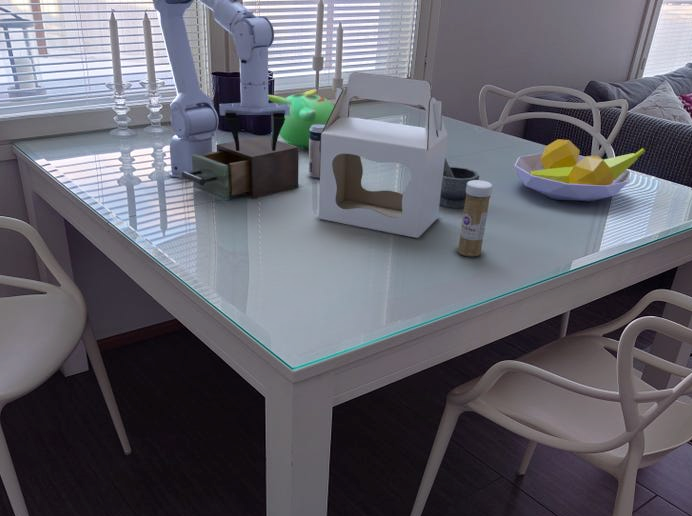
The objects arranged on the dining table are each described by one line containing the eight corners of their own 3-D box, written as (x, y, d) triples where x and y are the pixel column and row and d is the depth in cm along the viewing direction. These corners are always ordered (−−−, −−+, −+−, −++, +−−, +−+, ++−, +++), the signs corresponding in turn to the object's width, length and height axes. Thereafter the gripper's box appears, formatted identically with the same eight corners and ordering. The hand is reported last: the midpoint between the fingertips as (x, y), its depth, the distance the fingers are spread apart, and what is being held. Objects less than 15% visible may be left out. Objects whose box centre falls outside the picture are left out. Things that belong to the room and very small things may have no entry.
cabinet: (253, 198, 153) (252, 157, 148) (218, 184, 160) (216, 144, 156) (298, 186, 162) (298, 147, 157) (263, 173, 169) (262, 135, 164)
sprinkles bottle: (452, 252, 131) (462, 182, 124) (465, 246, 134) (475, 177, 127) (473, 259, 129) (484, 188, 122) (485, 253, 132) (497, 183, 125)
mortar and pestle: (477, 200, 158) (485, 146, 152) (471, 212, 151) (479, 157, 144) (429, 193, 161) (434, 141, 155) (420, 205, 153) (426, 151, 147)
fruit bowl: (504, 201, 158) (512, 151, 152) (519, 170, 180) (527, 125, 174) (633, 220, 151) (647, 168, 145) (633, 186, 173) (645, 139, 167)
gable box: (438, 218, 147) (456, 78, 132) (419, 239, 136) (435, 88, 122) (342, 200, 154) (349, 65, 139) (317, 218, 144) (321, 74, 129)
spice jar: (325, 180, 167) (327, 128, 160) (306, 178, 167) (307, 127, 161) (329, 174, 171) (331, 124, 164) (311, 172, 171) (312, 122, 165)
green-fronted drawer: (207, 204, 146) (205, 170, 142) (176, 191, 152) (173, 157, 149) (269, 189, 156) (269, 156, 152) (237, 177, 163) (236, 145, 159)
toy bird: (348, 146, 194) (351, 91, 186) (314, 159, 182) (316, 100, 174) (295, 135, 202) (296, 82, 194) (260, 147, 190) (259, 90, 182)
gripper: (219, 85, 138) (222, 154, 145) (291, 86, 140) (291, 154, 147) (218, 79, 144) (221, 145, 151) (287, 80, 146) (287, 145, 153)
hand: (255, 149), depth 149 cm, fingers open, 7 cm apart
